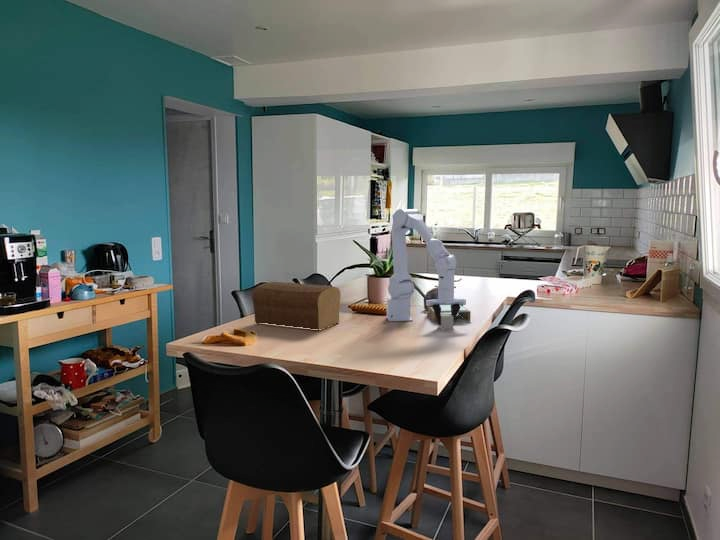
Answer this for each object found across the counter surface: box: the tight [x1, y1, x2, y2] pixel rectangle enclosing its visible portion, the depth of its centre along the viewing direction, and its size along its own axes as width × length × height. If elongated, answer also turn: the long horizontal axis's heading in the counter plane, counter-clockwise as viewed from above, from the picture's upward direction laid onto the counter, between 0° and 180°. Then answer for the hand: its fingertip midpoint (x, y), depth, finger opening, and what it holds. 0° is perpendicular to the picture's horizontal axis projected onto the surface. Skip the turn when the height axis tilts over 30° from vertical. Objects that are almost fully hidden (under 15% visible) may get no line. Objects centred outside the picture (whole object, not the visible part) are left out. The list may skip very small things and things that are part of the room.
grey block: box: [437, 313, 454, 330], centre depth 201 cm, size 4×4×5 cm
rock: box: [423, 287, 438, 311], centre depth 238 cm, size 12×9×10 cm
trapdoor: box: [432, 303, 467, 314], centre depth 218 cm, size 17×11×2 cm, turn 5°
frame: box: [426, 305, 472, 323], centre depth 218 cm, size 14×14×5 cm
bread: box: [251, 281, 342, 330], centre depth 210 cm, size 18×30×16 cm, turn 63°
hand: (445, 324), depth 201 cm, fingers closed on grey block, 4 cm apart
